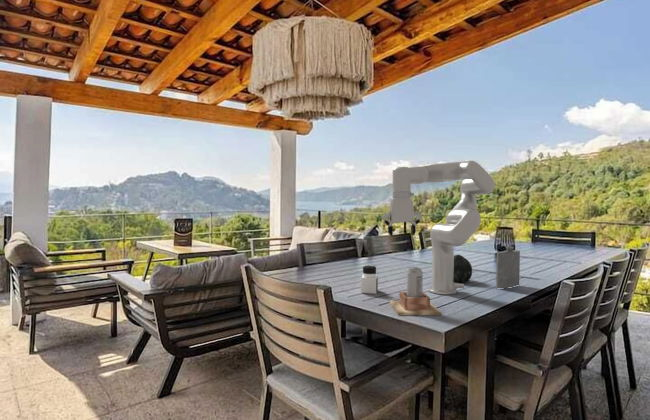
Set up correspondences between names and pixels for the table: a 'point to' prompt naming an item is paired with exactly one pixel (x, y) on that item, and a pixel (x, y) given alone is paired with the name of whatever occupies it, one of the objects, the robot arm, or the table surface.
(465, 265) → the squash
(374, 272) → the medicine bottle
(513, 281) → the grey tall flat block
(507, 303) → the table surface
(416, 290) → the energy drink can
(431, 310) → the can sleeve stand
